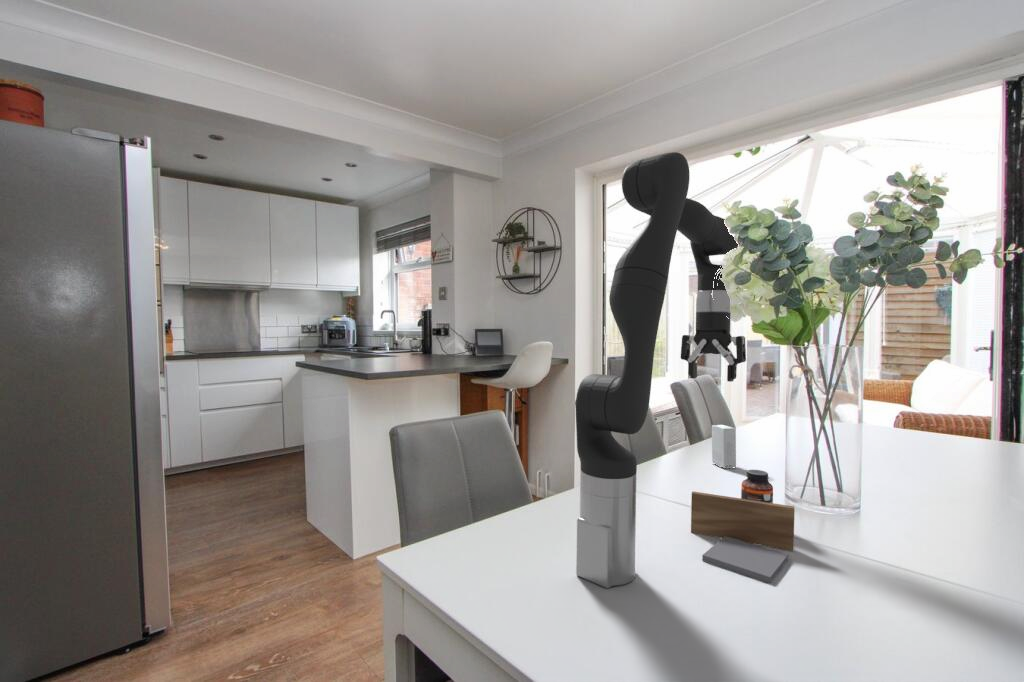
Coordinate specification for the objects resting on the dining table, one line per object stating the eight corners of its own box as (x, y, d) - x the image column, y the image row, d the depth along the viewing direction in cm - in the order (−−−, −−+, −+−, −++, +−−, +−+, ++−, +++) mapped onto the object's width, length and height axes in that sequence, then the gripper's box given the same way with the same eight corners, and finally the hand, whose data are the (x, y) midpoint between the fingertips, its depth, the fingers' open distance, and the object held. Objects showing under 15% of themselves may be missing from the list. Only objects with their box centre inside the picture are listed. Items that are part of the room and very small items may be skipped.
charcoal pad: (770, 583, 79) (770, 577, 78) (702, 560, 86) (702, 554, 86) (788, 559, 87) (788, 554, 87) (724, 540, 94) (725, 535, 94)
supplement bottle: (776, 532, 98) (777, 477, 98) (744, 529, 99) (746, 475, 99) (767, 521, 104) (768, 468, 104) (737, 518, 105) (738, 467, 105)
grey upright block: (736, 468, 143) (737, 428, 142) (723, 469, 142) (724, 428, 141) (723, 463, 149) (724, 424, 148) (710, 464, 148) (711, 424, 147)
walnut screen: (793, 551, 90) (794, 508, 90) (690, 532, 98) (691, 493, 98) (792, 548, 91) (794, 506, 91) (691, 530, 99) (692, 491, 99)
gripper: (676, 310, 115) (675, 378, 116) (739, 309, 106) (738, 383, 106) (689, 311, 121) (688, 376, 121) (750, 310, 111) (749, 381, 112)
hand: (711, 379), depth 114 cm, fingers open, 8 cm apart
